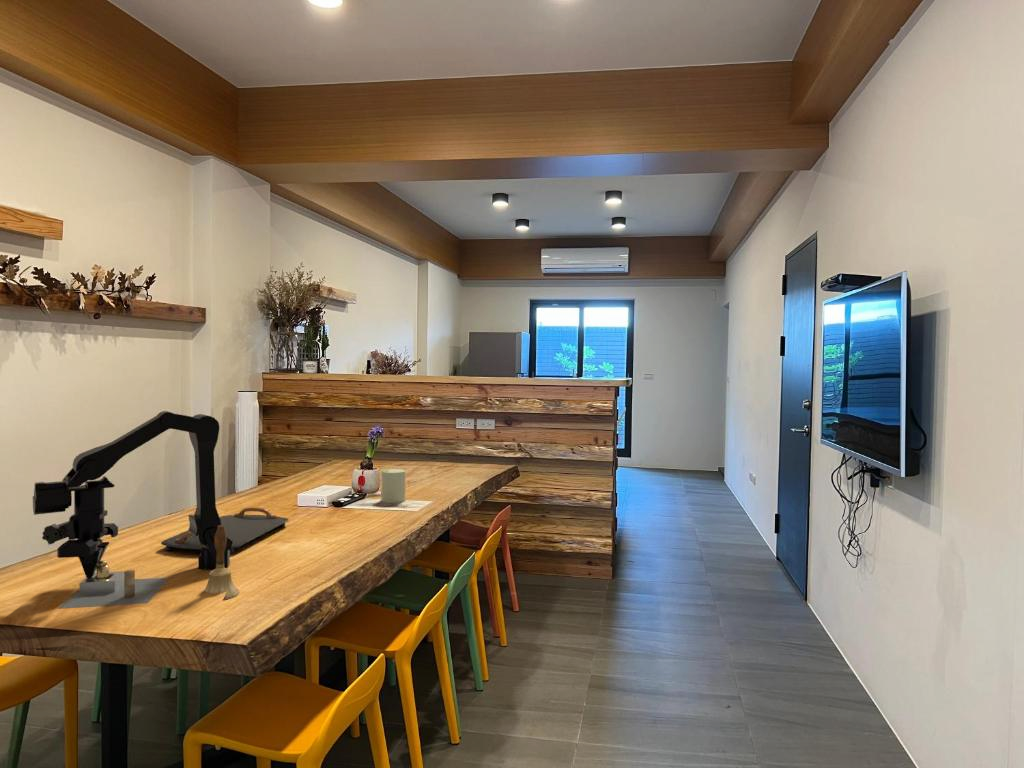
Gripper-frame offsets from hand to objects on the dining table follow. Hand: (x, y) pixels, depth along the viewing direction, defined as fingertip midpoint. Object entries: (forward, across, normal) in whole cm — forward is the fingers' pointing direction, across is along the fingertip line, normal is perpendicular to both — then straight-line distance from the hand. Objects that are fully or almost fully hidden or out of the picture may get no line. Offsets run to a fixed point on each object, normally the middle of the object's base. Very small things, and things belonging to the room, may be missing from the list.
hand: (89, 577), depth 150 cm
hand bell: (+4, +5, +28) cm, 29 cm away
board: (+4, +4, +7) cm, 8 cm away
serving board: (+5, -46, +22) cm, 51 cm away
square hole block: (+2, 0, +3) cm, 4 cm away
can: (+4, -91, +73) cm, 117 cm away
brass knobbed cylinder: (+3, 0, +3) cm, 4 cm away
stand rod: (+2, +7, +10) cm, 13 cm away
